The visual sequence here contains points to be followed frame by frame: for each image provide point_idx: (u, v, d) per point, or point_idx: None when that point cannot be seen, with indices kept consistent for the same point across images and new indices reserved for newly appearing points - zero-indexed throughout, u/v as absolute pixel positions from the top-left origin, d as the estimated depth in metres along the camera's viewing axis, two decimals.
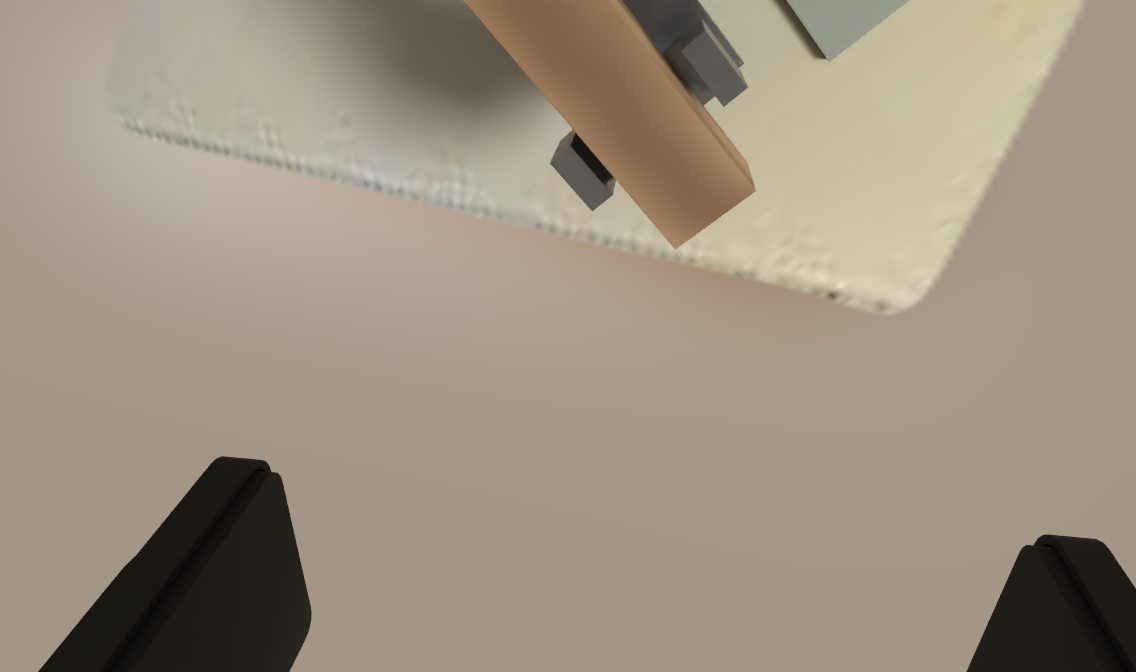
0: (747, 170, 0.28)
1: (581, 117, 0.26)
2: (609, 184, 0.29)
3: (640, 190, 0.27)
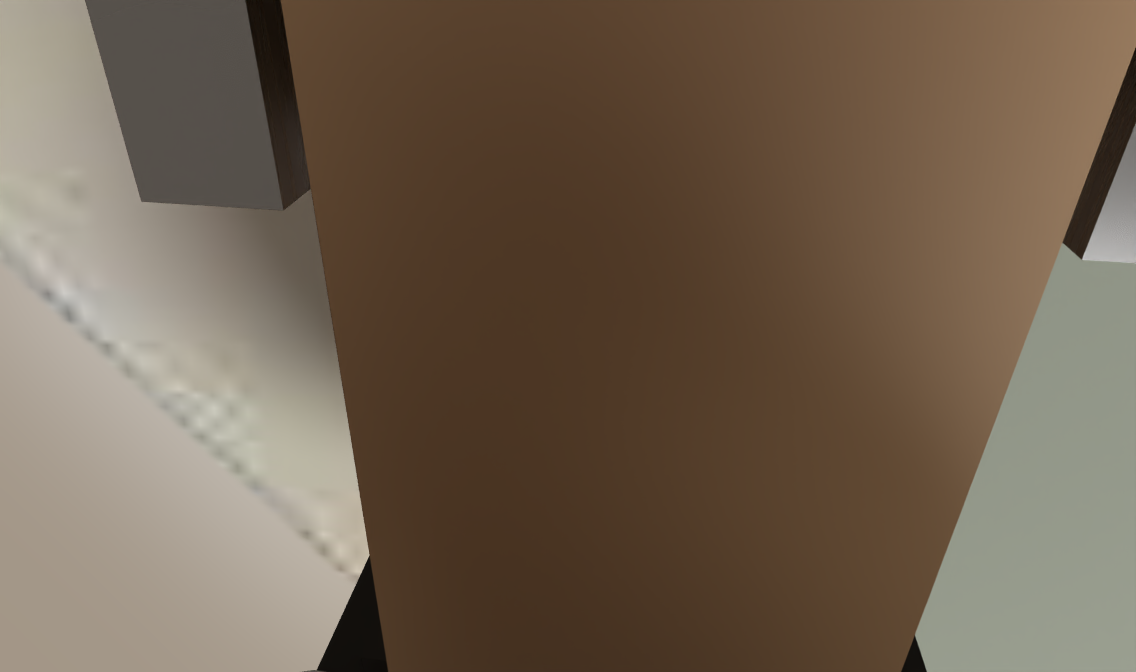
0: None
1: None
2: None
3: None
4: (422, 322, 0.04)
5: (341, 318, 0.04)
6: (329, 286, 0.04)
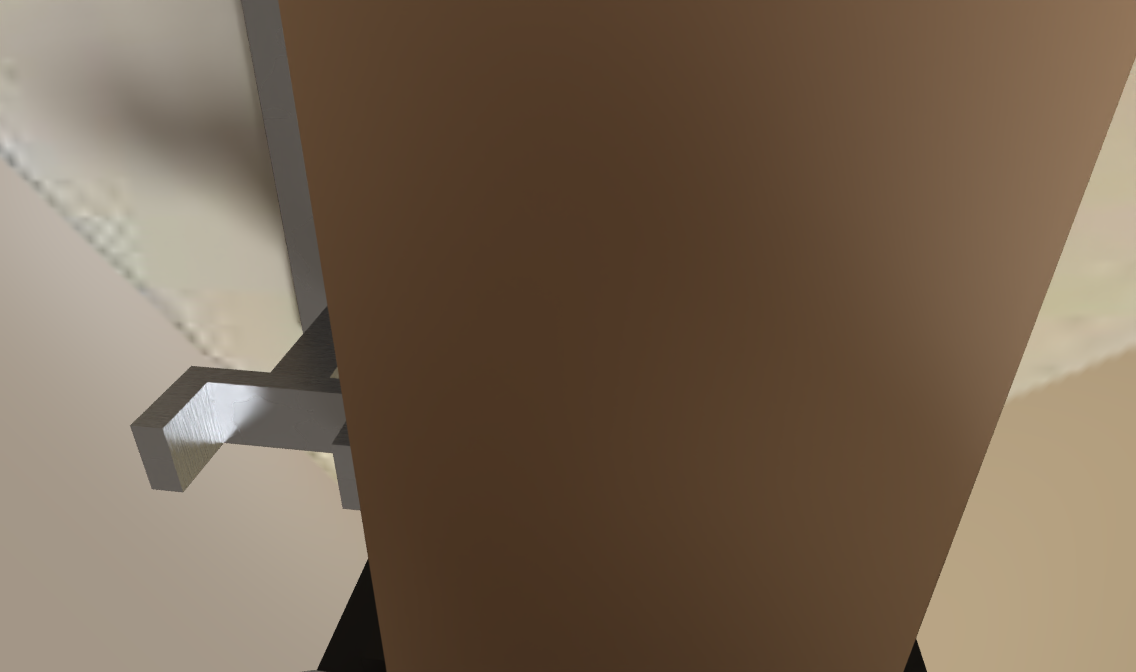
0: None
1: None
2: (193, 471, 0.23)
3: None
4: (421, 331, 0.04)
5: (340, 326, 0.04)
6: (328, 295, 0.04)
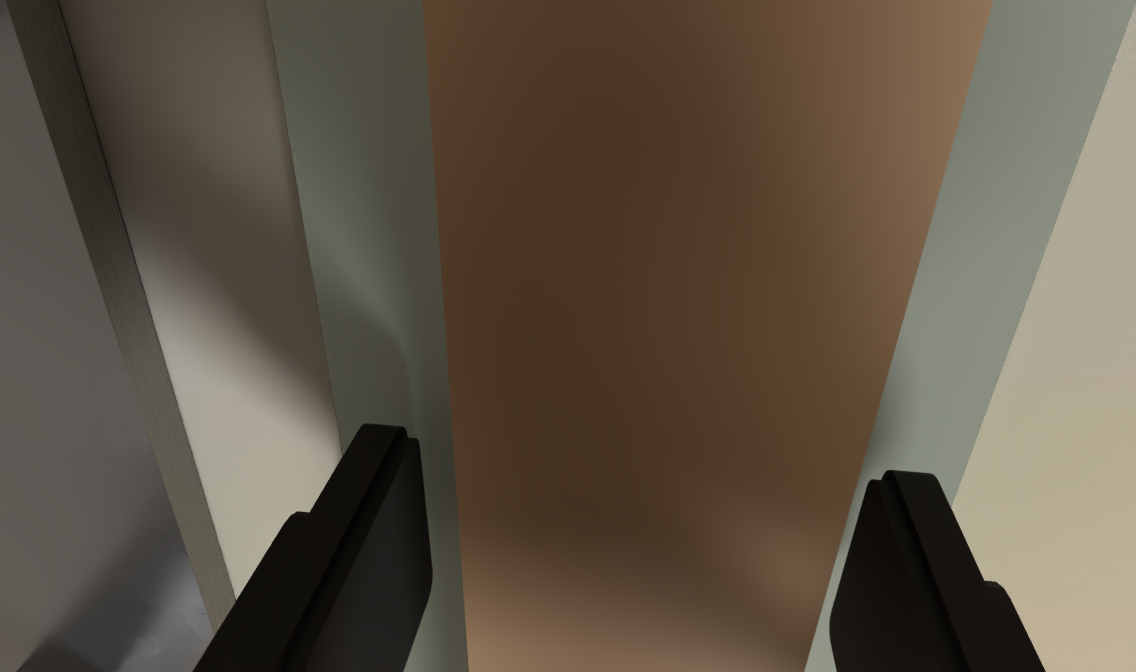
0: None
1: None
2: None
3: None
4: (503, 200, 0.06)
5: (443, 198, 0.06)
6: (435, 174, 0.06)
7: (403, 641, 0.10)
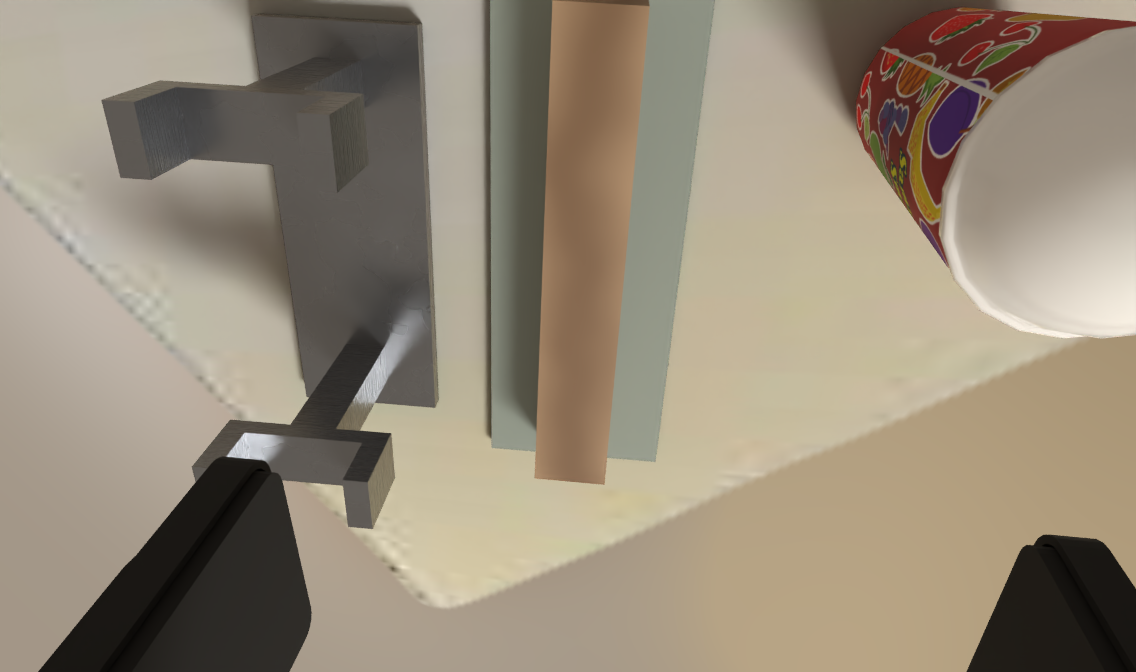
0: None
1: (548, 381, 0.35)
2: None
3: (544, 438, 0.37)
4: (559, 148, 0.30)
5: (548, 148, 0.30)
6: (547, 143, 0.30)
7: None
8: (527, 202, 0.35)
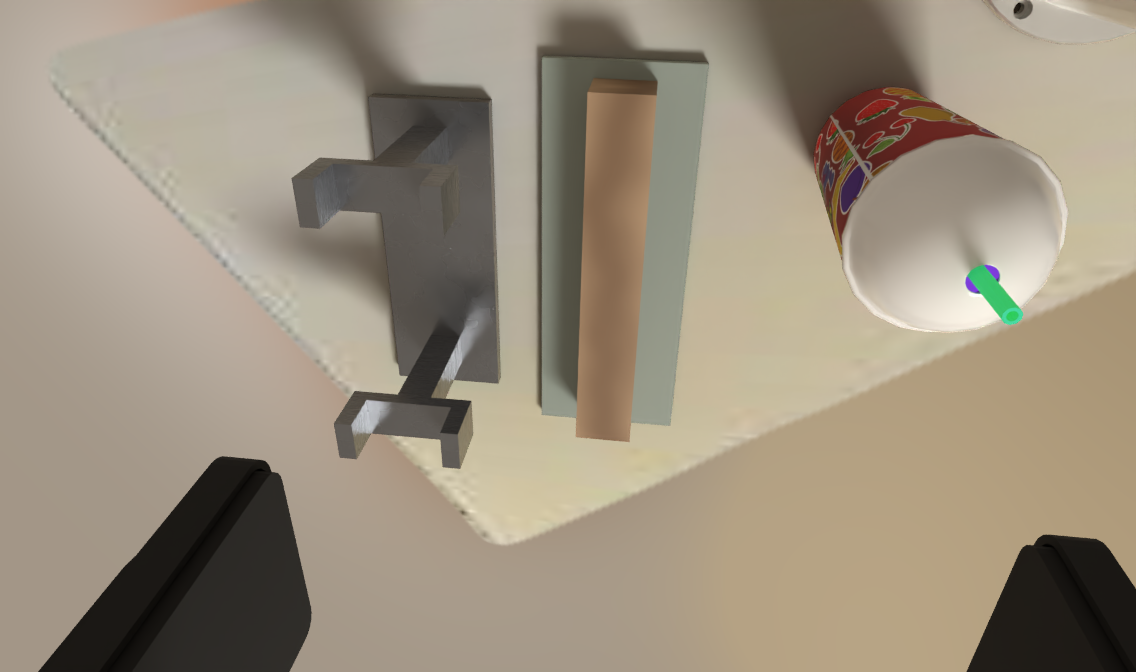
0: None
1: (586, 362, 0.46)
2: (360, 448, 0.43)
3: (583, 405, 0.48)
4: (593, 193, 0.41)
5: (585, 193, 0.41)
6: (584, 190, 0.41)
7: None
8: (569, 228, 0.46)
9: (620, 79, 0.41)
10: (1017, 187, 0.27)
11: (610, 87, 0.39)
